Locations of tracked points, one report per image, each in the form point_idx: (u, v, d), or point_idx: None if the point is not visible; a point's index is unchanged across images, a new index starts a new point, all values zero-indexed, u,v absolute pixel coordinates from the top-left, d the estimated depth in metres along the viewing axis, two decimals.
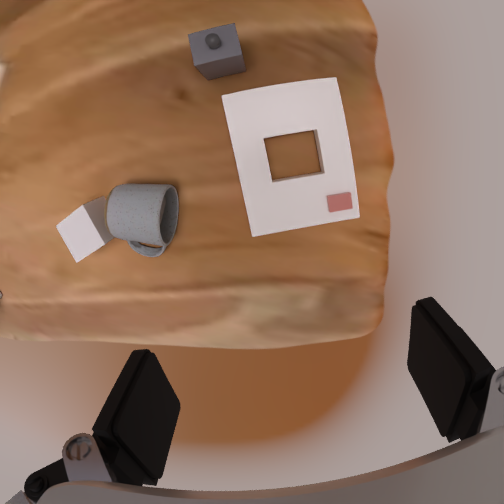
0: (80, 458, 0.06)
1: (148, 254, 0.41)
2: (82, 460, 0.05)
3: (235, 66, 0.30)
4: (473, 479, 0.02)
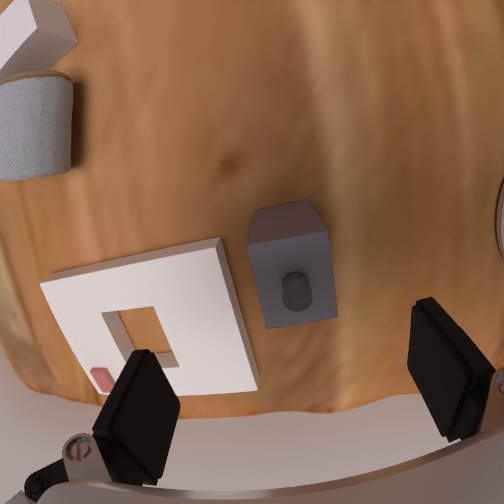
0: (80, 458, 0.06)
1: None
2: (82, 460, 0.05)
3: None
4: (473, 479, 0.02)
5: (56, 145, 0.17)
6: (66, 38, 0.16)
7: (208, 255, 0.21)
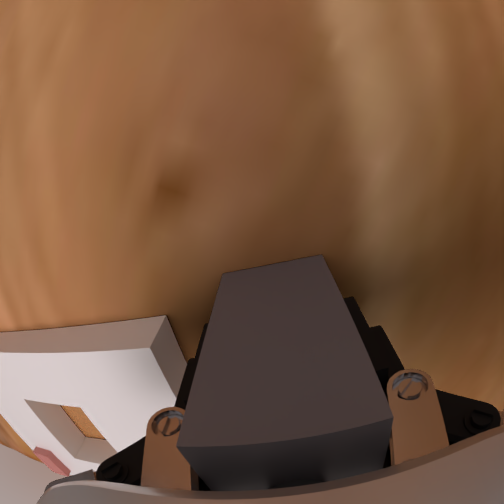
0: (165, 433, 0.06)
1: None
2: (167, 437, 0.06)
3: None
4: (473, 479, 0.02)
5: None
6: None
7: (141, 358, 0.11)
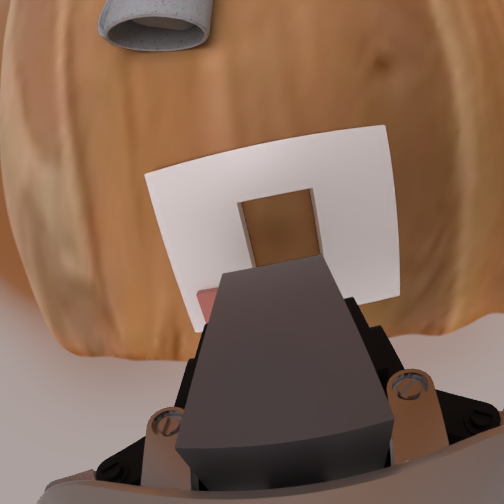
0: (165, 433, 0.06)
1: (102, 17, 0.17)
2: (167, 437, 0.06)
3: None
4: (473, 479, 0.02)
5: (209, 5, 0.15)
6: None
7: (378, 132, 0.19)
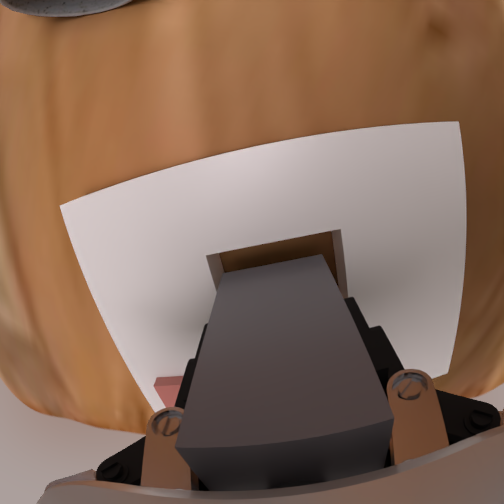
0: (165, 433, 0.06)
1: None
2: (167, 437, 0.06)
3: None
4: (473, 479, 0.02)
5: None
6: None
7: (449, 133, 0.10)
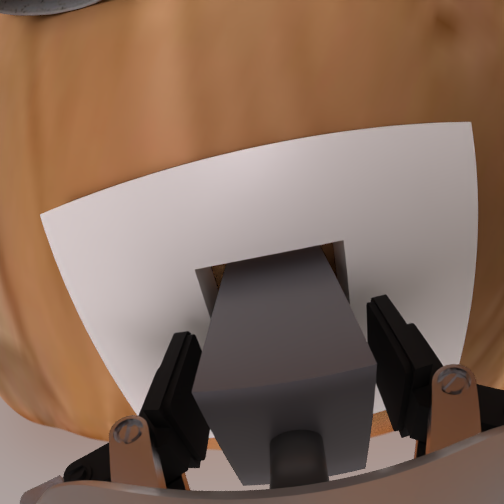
0: (127, 441, 0.06)
1: None
2: (129, 444, 0.06)
3: None
4: (473, 479, 0.02)
5: None
6: None
7: (461, 134, 0.09)
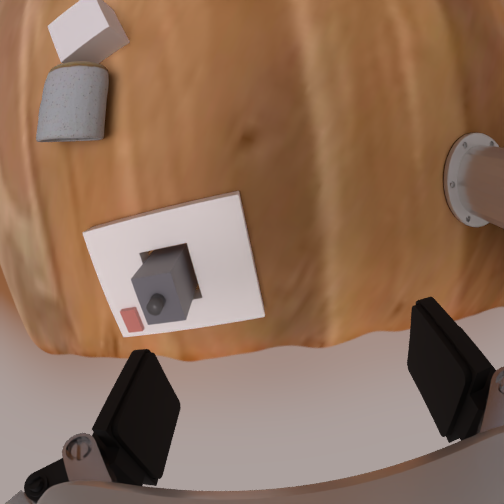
0: (80, 458, 0.06)
1: None
2: (82, 460, 0.05)
3: None
4: (473, 479, 0.02)
5: (98, 117, 0.24)
6: (123, 37, 0.24)
7: (233, 200, 0.29)
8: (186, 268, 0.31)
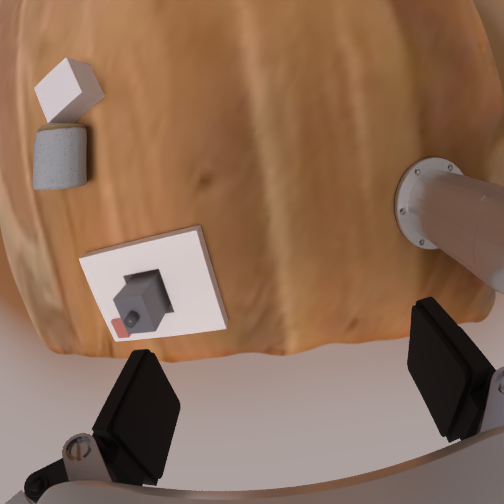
0: (80, 458, 0.06)
1: None
2: (82, 460, 0.05)
3: None
4: (473, 479, 0.02)
5: (79, 169, 0.31)
6: (98, 95, 0.30)
7: (192, 235, 0.36)
8: (159, 288, 0.38)
